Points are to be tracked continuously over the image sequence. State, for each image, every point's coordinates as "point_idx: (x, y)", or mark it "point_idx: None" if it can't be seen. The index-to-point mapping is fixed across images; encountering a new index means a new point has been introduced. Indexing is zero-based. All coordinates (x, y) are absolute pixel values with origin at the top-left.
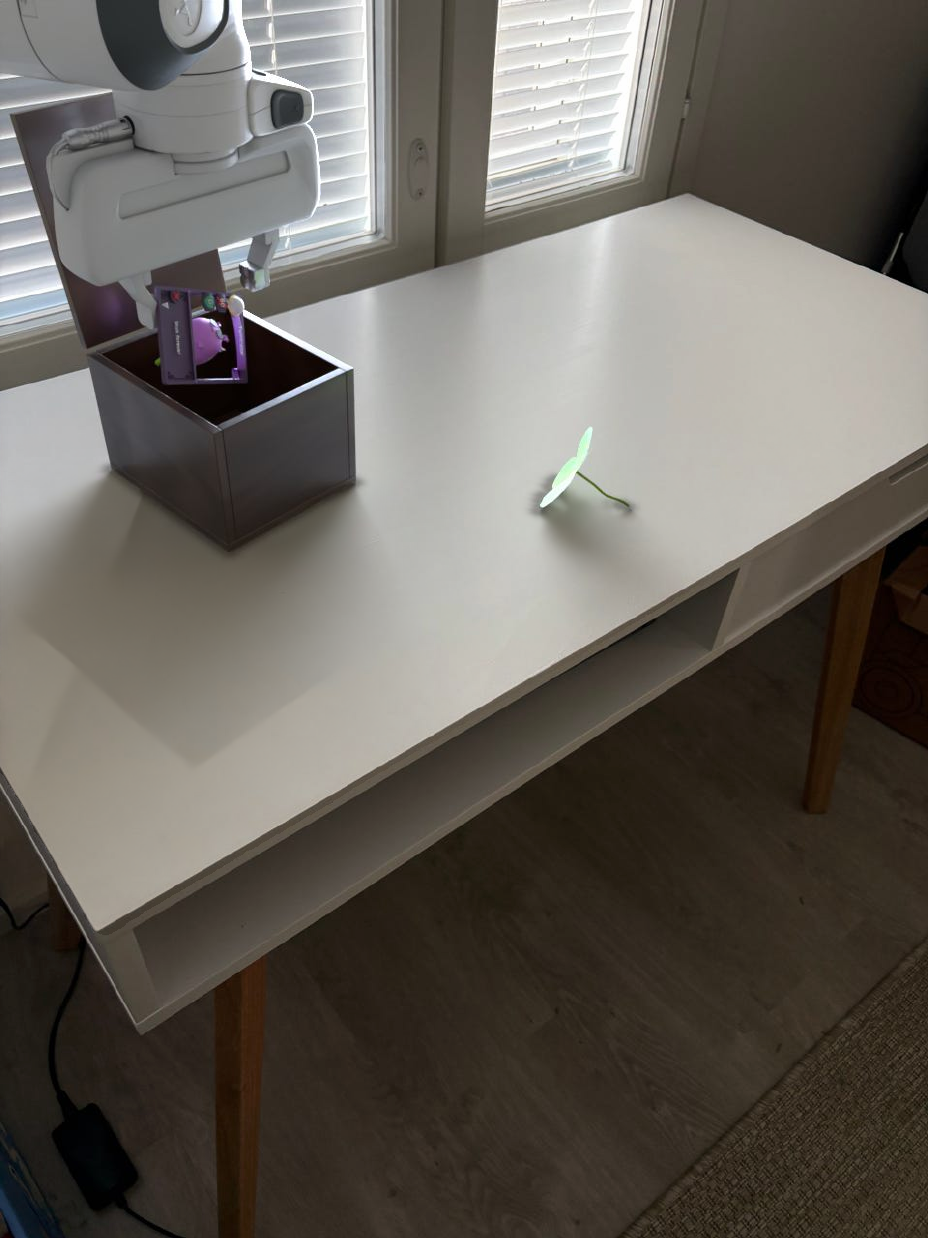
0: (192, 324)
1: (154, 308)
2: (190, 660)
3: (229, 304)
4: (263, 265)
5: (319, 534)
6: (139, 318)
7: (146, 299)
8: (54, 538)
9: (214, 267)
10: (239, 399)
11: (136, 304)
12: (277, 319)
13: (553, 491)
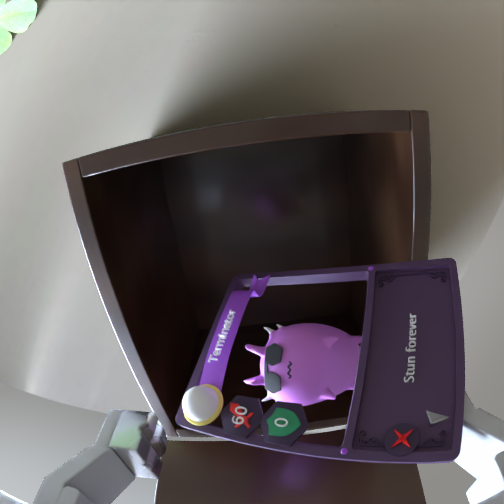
0: (357, 375)
1: (466, 407)
2: (446, 25)
3: (218, 409)
4: (105, 451)
5: (244, 77)
6: None
7: (493, 422)
8: (449, 247)
9: (170, 479)
10: (194, 332)
11: None
12: (102, 410)
13: (16, 24)
